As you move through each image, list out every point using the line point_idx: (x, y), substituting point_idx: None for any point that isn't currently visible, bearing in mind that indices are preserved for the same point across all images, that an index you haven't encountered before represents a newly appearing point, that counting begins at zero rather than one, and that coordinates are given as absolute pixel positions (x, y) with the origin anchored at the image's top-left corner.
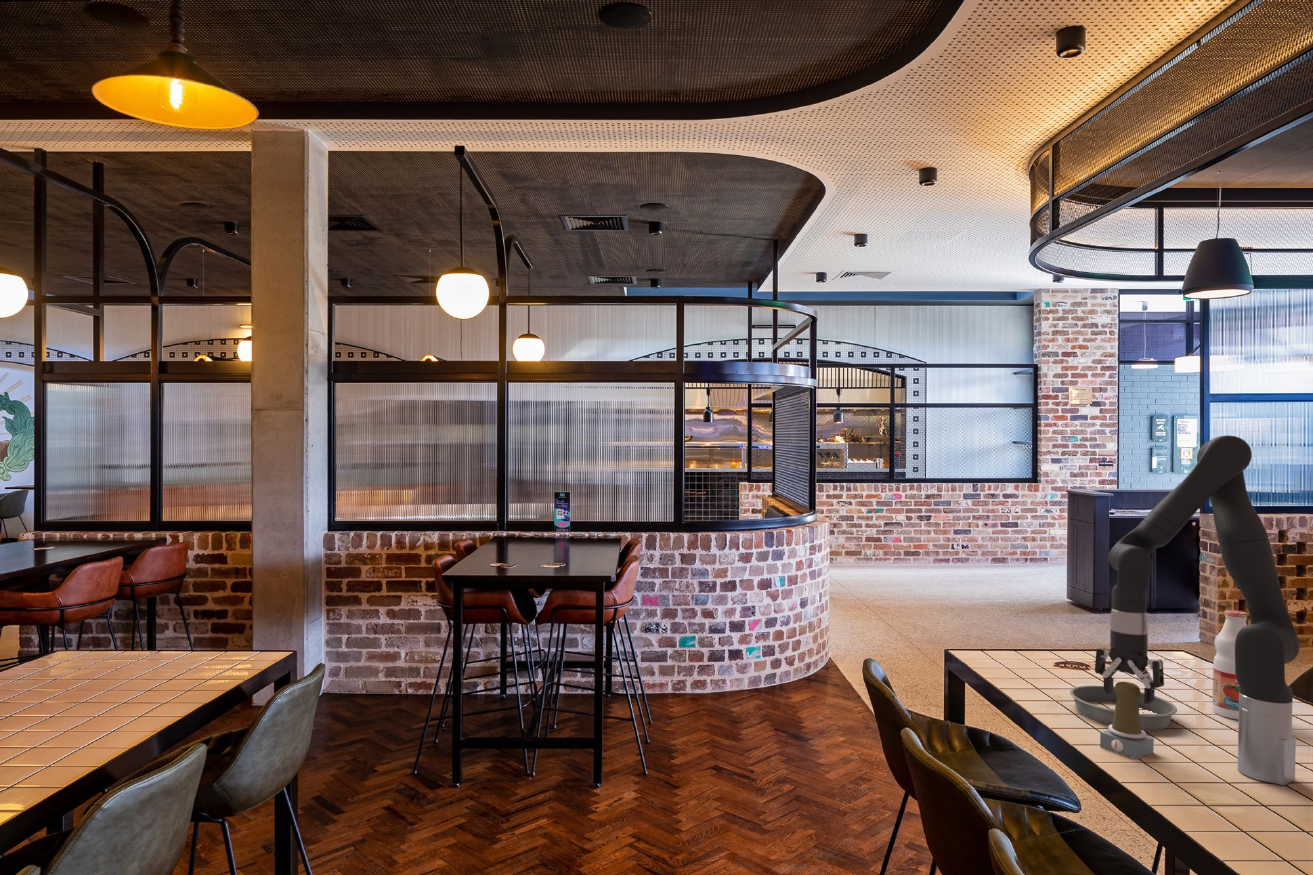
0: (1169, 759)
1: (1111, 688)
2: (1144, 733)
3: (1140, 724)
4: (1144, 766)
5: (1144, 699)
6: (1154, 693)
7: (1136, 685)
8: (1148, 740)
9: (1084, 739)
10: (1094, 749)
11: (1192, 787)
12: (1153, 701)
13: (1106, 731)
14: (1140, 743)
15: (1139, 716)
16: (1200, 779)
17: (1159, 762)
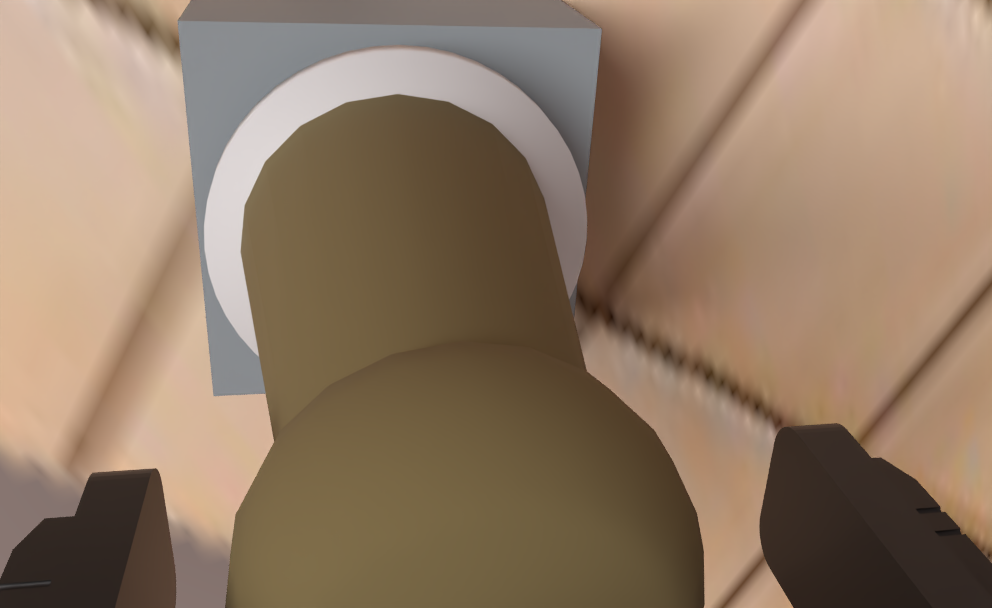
0: (711, 41)
1: (147, 586)
2: (567, 180)
3: (555, 244)
4: (634, 383)
5: (793, 599)
6: (986, 562)
7: (654, 598)
8: (587, 144)
9: (22, 270)
10: (238, 410)
11: (948, 432)
12: (884, 466)
13: (226, 317)
14: (572, 297)
15: (566, 289)
16: (970, 255)
17: (678, 198)
